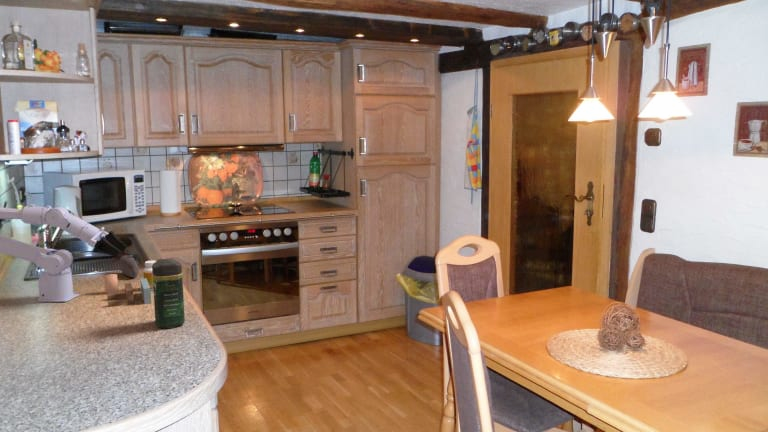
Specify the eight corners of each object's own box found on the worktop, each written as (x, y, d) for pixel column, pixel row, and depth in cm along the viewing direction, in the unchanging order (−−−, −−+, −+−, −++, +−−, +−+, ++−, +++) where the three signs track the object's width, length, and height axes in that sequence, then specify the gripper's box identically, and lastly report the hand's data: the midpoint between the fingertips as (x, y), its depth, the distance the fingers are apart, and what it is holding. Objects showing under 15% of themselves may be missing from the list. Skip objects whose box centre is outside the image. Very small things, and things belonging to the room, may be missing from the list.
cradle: (108, 306, 191) (107, 292, 190) (107, 299, 199) (106, 285, 199) (134, 303, 194) (133, 289, 193) (132, 296, 202) (131, 283, 202)
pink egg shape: (103, 294, 205) (101, 276, 204) (109, 291, 209) (108, 274, 208) (114, 294, 205) (113, 276, 204) (120, 291, 209) (119, 274, 208)
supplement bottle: (155, 291, 208) (153, 263, 207) (141, 290, 209) (139, 263, 208) (164, 287, 213) (162, 260, 212) (150, 286, 214) (148, 259, 213)
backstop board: (144, 304, 193) (143, 288, 193) (141, 293, 206) (140, 279, 205) (151, 303, 194) (150, 288, 193) (147, 292, 207) (146, 278, 206)
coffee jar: (187, 326, 171) (183, 261, 169) (157, 330, 168) (153, 265, 165) (182, 316, 180) (178, 255, 177) (154, 320, 177) (149, 258, 174)
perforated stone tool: (142, 279, 226) (141, 260, 225) (127, 281, 223) (126, 262, 222) (133, 271, 238) (131, 253, 237) (118, 273, 235) (117, 255, 234)
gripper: (82, 224, 191) (122, 245, 194) (96, 216, 205) (133, 237, 208) (70, 243, 191) (110, 264, 194) (86, 234, 205) (123, 254, 208)
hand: (122, 251), depth 201 cm, fingers open, 7 cm apart
